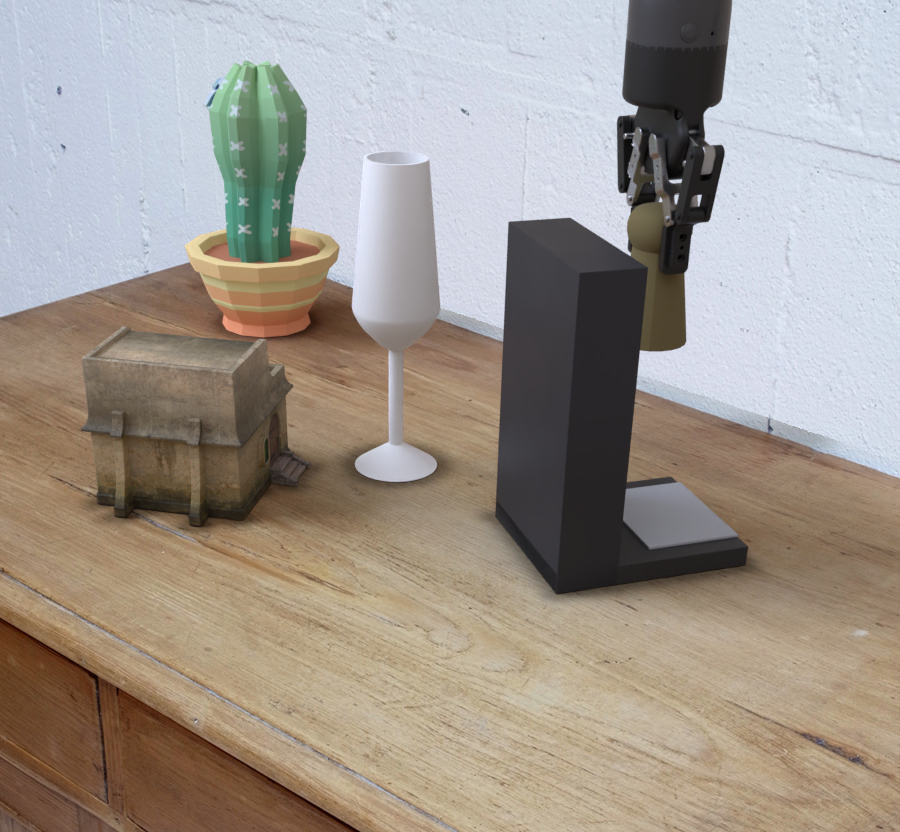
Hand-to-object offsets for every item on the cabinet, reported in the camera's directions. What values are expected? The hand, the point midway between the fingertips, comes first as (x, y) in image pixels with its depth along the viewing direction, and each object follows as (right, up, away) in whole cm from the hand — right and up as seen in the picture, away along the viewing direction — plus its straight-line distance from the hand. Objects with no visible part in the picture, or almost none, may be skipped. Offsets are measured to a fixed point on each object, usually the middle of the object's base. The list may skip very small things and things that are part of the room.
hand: (656, 261), depth 106 cm
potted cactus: (-36, +1, +30) cm, 46 cm away
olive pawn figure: (0, -6, +3) cm, 7 cm away
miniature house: (-36, -18, -3) cm, 40 cm away
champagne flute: (-21, -16, 0) cm, 27 cm away
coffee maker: (-5, -23, -10) cm, 26 cm away
